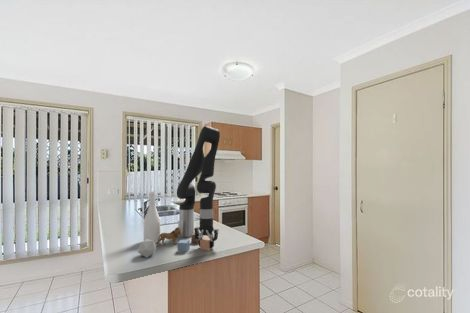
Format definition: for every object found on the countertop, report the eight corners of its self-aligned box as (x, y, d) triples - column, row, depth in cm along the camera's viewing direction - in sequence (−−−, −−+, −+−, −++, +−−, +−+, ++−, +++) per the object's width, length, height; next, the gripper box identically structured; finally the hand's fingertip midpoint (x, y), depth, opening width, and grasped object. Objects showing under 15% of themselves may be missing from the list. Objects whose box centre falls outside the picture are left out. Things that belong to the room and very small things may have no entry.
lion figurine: (180, 241, 145) (180, 226, 145) (182, 243, 140) (182, 228, 140) (154, 244, 138) (155, 228, 139) (156, 247, 133) (156, 231, 134)
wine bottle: (163, 240, 146) (164, 191, 147) (152, 245, 137) (152, 192, 138) (151, 238, 150) (152, 190, 151) (140, 242, 141) (140, 192, 142)
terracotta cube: (200, 249, 130) (200, 240, 130) (204, 246, 135) (204, 237, 135) (208, 250, 128) (208, 241, 129) (212, 247, 133) (212, 238, 133)
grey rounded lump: (145, 252, 127) (134, 240, 123) (160, 244, 128) (149, 232, 124) (144, 264, 120) (133, 251, 115) (159, 255, 120) (149, 242, 116)
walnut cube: (191, 243, 141) (191, 234, 141) (194, 240, 145) (194, 232, 146) (199, 243, 139) (199, 235, 140) (202, 241, 144) (202, 232, 144)
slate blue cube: (177, 252, 126) (177, 242, 126) (180, 249, 131) (180, 239, 131) (186, 252, 125) (186, 243, 126) (189, 249, 130) (189, 240, 131)
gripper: (191, 217, 131) (191, 248, 130) (215, 219, 126) (215, 251, 126) (197, 214, 138) (197, 243, 137) (220, 216, 133) (220, 246, 133)
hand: (206, 247), depth 132 cm, fingers open, 6 cm apart
